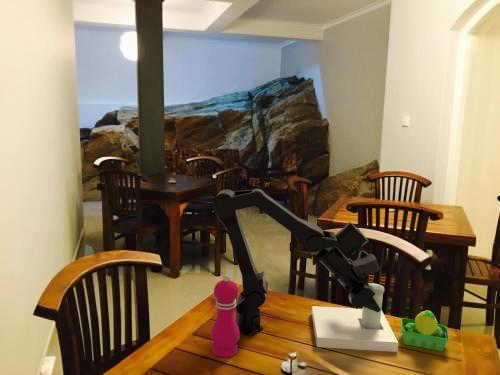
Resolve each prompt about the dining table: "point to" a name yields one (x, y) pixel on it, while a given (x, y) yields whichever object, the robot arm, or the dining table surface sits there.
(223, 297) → the pepper mill
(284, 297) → the dining table surface
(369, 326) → the grey cylinder
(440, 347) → the fruit basket
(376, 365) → the dining table surface
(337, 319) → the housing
